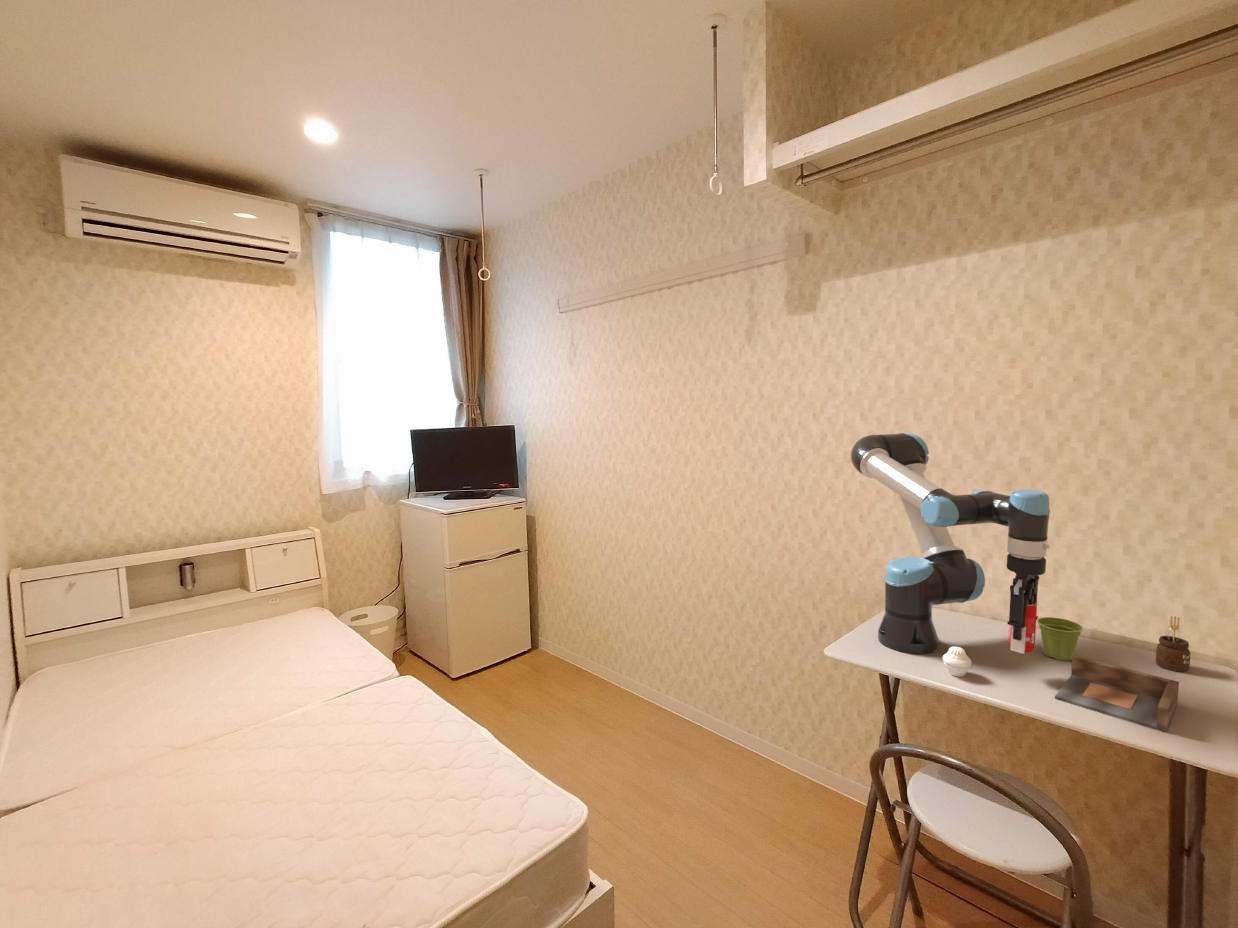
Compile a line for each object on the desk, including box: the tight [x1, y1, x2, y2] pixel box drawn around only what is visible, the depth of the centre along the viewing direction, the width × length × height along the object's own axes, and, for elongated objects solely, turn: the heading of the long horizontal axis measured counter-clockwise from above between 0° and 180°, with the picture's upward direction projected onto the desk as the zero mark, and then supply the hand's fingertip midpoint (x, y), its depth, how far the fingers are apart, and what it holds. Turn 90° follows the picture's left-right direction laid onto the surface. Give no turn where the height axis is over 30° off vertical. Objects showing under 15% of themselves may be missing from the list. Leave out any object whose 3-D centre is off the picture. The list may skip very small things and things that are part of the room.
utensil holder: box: [1155, 615, 1191, 673], centre depth 136 cm, size 6×6×12 cm
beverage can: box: [1008, 600, 1038, 654], centre depth 134 cm, size 5×5×12 cm
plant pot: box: [1036, 616, 1084, 662], centre depth 144 cm, size 9×9×9 cm
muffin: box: [942, 646, 972, 678], centre depth 137 cm, size 6×6×7 cm
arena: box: [1054, 654, 1180, 734], centre depth 122 cm, size 18×16×5 cm
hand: (1021, 647), depth 135 cm, fingers closed on beverage can, 5 cm apart
